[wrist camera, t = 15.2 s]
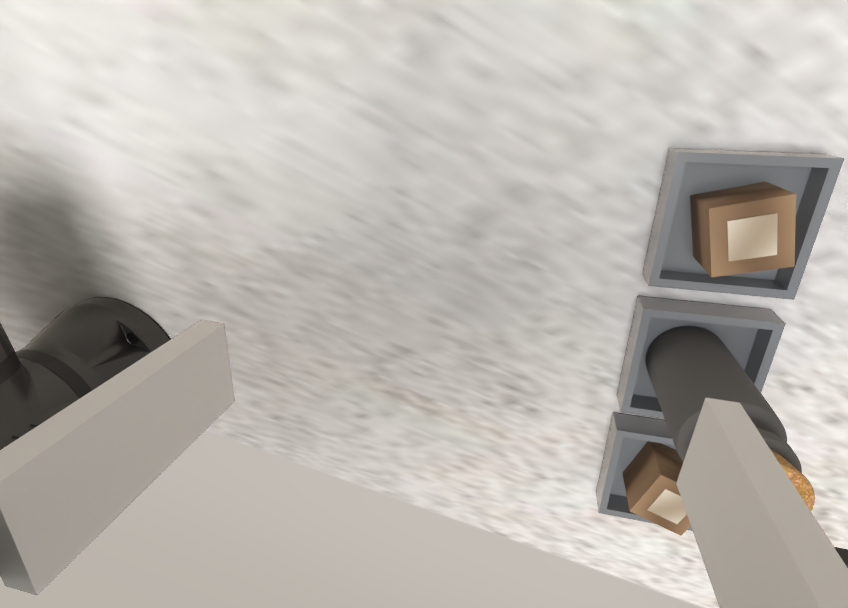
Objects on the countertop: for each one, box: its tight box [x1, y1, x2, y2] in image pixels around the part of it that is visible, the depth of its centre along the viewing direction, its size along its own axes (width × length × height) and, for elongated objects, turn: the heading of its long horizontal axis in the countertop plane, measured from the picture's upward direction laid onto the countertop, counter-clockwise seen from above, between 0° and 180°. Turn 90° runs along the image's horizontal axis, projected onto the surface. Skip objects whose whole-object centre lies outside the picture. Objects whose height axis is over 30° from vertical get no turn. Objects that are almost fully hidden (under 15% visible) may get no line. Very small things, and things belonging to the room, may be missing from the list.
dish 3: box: [617, 296, 786, 419], centre depth 37 cm, size 9×9×2 cm
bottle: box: [646, 326, 815, 511], centre depth 31 cm, size 6×6×15 cm
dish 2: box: [643, 148, 844, 299], centre depth 32 cm, size 9×9×2 cm
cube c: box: [622, 441, 691, 535], centre depth 40 cm, size 4×4×5 cm
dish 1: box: [596, 412, 693, 531], centre depth 41 cm, size 9×9×2 cm
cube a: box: [690, 182, 796, 277], centre depth 31 cm, size 4×4×5 cm
